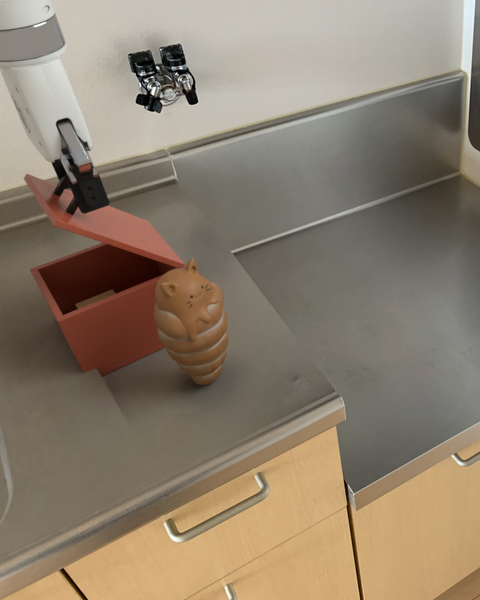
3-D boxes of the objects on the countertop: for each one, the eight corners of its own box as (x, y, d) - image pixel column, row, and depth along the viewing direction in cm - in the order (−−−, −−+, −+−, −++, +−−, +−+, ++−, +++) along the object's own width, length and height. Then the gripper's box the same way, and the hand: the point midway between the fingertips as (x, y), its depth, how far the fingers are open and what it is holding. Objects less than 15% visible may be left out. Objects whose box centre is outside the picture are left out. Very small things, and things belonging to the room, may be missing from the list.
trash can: (88, 382, 78) (57, 321, 71) (60, 329, 86) (29, 268, 79) (202, 330, 86) (184, 269, 78) (167, 284, 93) (147, 226, 86)
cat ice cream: (212, 413, 75) (176, 303, 63) (162, 392, 77) (119, 282, 65) (254, 365, 81) (229, 256, 69) (207, 347, 83) (175, 238, 71)
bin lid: (53, 226, 65) (80, 180, 64) (23, 178, 73) (46, 137, 72) (182, 269, 78) (205, 231, 77) (145, 225, 86) (166, 190, 85)
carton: (99, 351, 81) (86, 324, 78) (87, 331, 84) (74, 304, 81) (136, 335, 84) (125, 308, 80) (123, 315, 87) (112, 288, 83)
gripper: (-39, 25, 63) (32, 178, 75) (1, 73, 53) (76, 241, 65) (37, 10, 67) (94, 159, 79) (88, 53, 57) (144, 216, 69)
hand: (85, 195), depth 72 cm, fingers closed on bin lid, 6 cm apart
